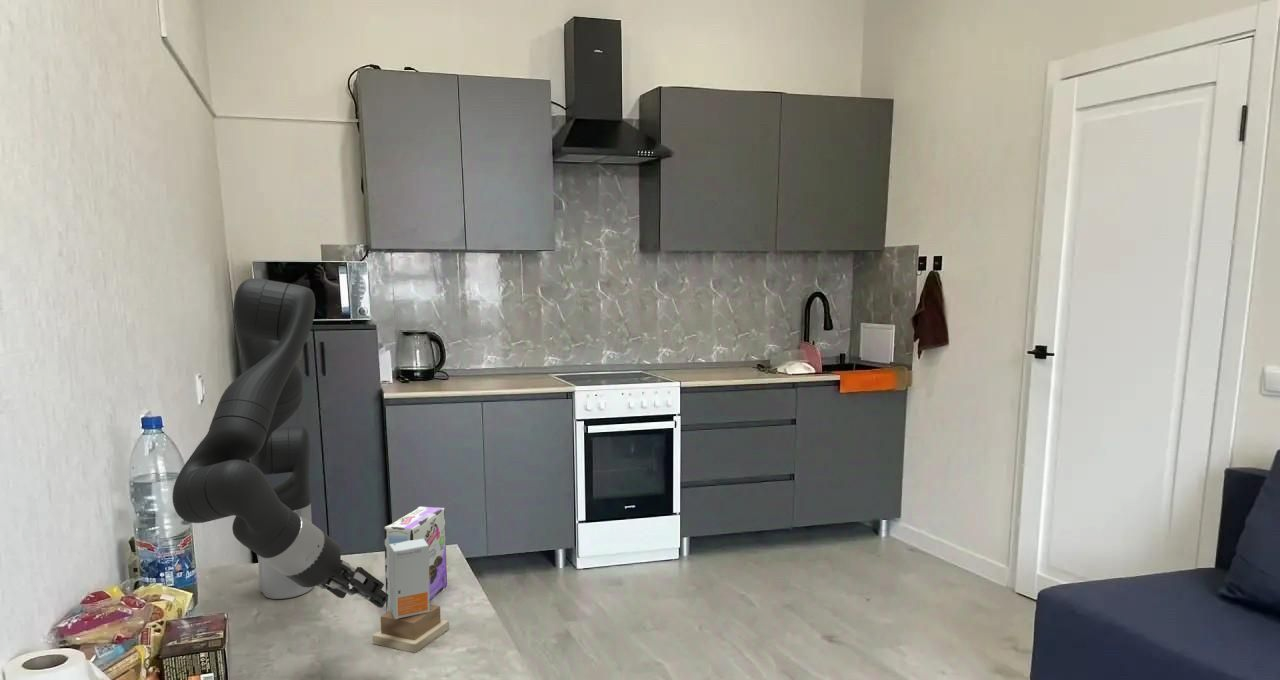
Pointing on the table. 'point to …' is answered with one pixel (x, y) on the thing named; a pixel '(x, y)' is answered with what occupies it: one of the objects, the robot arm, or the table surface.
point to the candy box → (432, 530)
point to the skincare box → (409, 578)
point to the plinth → (408, 642)
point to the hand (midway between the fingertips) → (364, 597)
